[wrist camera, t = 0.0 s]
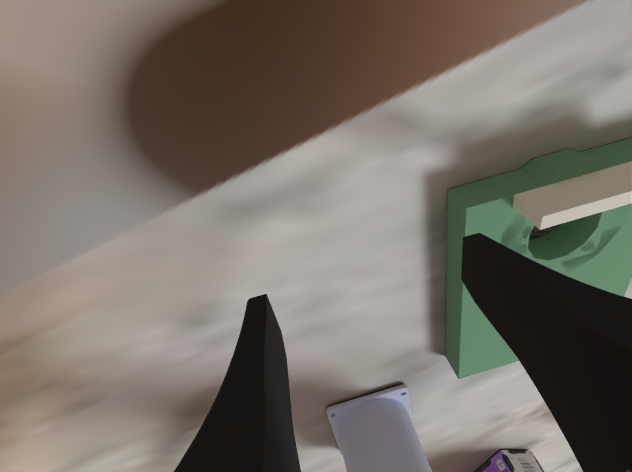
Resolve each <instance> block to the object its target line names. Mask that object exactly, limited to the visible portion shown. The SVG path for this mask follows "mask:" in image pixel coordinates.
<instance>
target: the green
mask: <svg viewBox="0 0 632 472" xmlns="http://www.w3.org/2000/svg"><path fill="white" fill-rule="evenodd" d="M559 224H560V225H559ZM555 225H559V226H557V227H556V228H554V229H553V230H552V231H550V232H549V233H547V234H546V235H544V236H542V237H539V238H535V239H532V240H529V237H530V232H531V230H532V229H533V228H534V226H536V227H537V228H538V229H539V230H542V229H545V228H548V227H552V226H555ZM476 233H481V234H483V235H485V236H487V237H489V238H491V239H493V240H495V241H496V242H498V243H500V244H502V245H504V246H506V247H508V248H510V249H512V250H514V251H515V252H517V253H519V254H521V255H523V256H525V257H527V258H529V259H531V260H533V261H535V262H537V263H539V264H541V265H544V266H546V267H548V268H550V269H552V270H554V271H557V272H559V273H561V274H564V275H566V276H568V277H570V278H573V279H575V280H578V281H580V282H583V283H586V284H588V285H591V286H594V287H597V288H599V289H602V290H605V291H608V292H611V293H614V294H617V295H620V296H623V297H624V294H625V292H626V290H627V287H628V285H629V282H630V280H631V277H632V137H631V138H628V139H624V140H621V141H617V142H614V143H610V144H607V145H603V146H599V147H596V148H592V149H589V150H585V151H582V152H578V151H574V150H571V149H565V150H562V151H558V152H555V153H551V154H548V155H544V156H541V157H537V158H533V159H532V160H531V161H529V162H528V163H527V164H526V165H524V166H523V167H522V168H520V169H518V170H515V171H511V172H507V173H504V174H500V175H497V176H493V177H490V178H486V179H483V180H479V181H476V182H472V183H469V184H465V185H461V186H458V187H454V188H451V189H447V271H446V358H447V360H448V361H449V363H450V365H451V367H452V368H453V370H454V372H455V374H456V375H457V377H458V379H461V378H464V377H467V376H470V375H474V374H477V373H480V372H484V371H487V370H490V369H493V368H497V367H500V366H503V365H507V364H510V363H513V362H516V361H519V359H518V358H517V357H516V355H515V354H514V352H513V351H512V350H511V349H510V347H509V346H508V345H507V343H506V342H505V341H504V340H503V338H502V337H501V336H500V334H499V333H498V332H497V331H496V329H495V328H494V327H493V325H492V324H491V323H490V322H489V320H488V319H487V318H486V316H485V315H484V314H483V313H482V311H481V310H480V309H479V307H478V306H477V305H476V303H475V302H474V300H473V299H472V297H471V295H470V294H469V292H468V290H467V288H466V287H465V285H464V283H463V281H462V279H461V270H462V246H463V237H466V236H469V235H473V234H476Z"/></svg>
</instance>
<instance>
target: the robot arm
mask: <svg viewBox="0 0 632 472" xmlns="http://www.w3.org/2000/svg"><path fill="white" fill-rule="evenodd" d="M461 279H462V281H463V283H464V285H465V287H466V288H467V290H468V292H469V294H470V295H471V297H472V299H473V300H474V302H475V303H476V305H477V306H478V307H479V309H480V310H481V311H482V313H483V314H484V315H485V316H486V318H487V319H488V320H489V322H490V323H491V324H492V325H493V327H494V328H495V329H496V331H497V332H498V333H499V334H500V336H501V337H502V338H503V340H504V341H505V342H506V343H507V345H508V346H509V347H510V349H511V350H512V351H513V352H514V354H515V355H516V357H517V358H518V359H519V361H520V362H521V364H522V365H523V367H524V368H525V370H526V372H527V373H528V375H529V376H530V378H531V380H532V381H533V383H534V384H535V386H536V388H537V389H538V391H539V393H540V394H541V396H542V398H543V399H544V401H545V403H546V404H547V406H548V408H549V409H550V411H551V413H552V414H553V416H554V418H555V420H556V422H557V423H558V425H559V427H560V429H561V431H562V432H563V434H564V436H565V438H566V439H567V441H568V443H569V445H570V447H571V449H572V451H573V453H574V455H575V456H576V458H577V460H578V462H579V464H580V466H581V468H582V470H583V472H632V299H630V298H626V297H623V296H620V295H617V294H614V293H611V292H608V291H605V290H602V289H599V288H597V287H594V286H591V285H588V284H586V283H583V282H580V281H578V280H575V279H573V278H570V277H568V276H566V275H564V274H561V273H559V272H557V271H554V270H552V269H550V268H548V267H546V266H544V265H541V264H539V263H537V262H535V261H533V260H531V259H529V258H527V257H525V256H523V255H521V254H519V253H517V252H515V251H514V250H512V249H510V248H508V247H506V246H504V245H502V244H500V243H498V242H496V241H495V240H493V239H491V238H489V237H487V236H485V235H483V234H481V233H476V234H473V235H469V236H466V237H463V246H462V270H461ZM326 413H327V416H328V419H329V422H330V425H331V428H332V430H333V433H334V436H335V439H336V442H337V444H338V447H339V450H340V453H341V455H343V458H344V462H345V466H346V470H347V472H432V470H431V467H430V465H429V463H428V460H427V458H426V455H425V453H424V451H423V448H422V446H421V443H420V441H419V438H418V436H417V434H416V431H415V429H414V426H413V424H412V422H411V413H410V403H409V393H408V388H407V386H406V385H399V386H396V387H393V388H389V389H386V390H383V391H379V392H376V393H373V394H369V395H366V396H363V397H360V398H356V399H353V400H350V401H346V402H343V403H340V404H336V405H333V406H330V407H328V408H327V409H326ZM174 472H301V470H300V464H299V459H298V454H297V448H296V443H295V437H294V431H293V423H292V414H291V402H290V391H289V379H288V368H287V358H286V353H285V348H284V343H283V338H282V333H281V330H280V327H279V325H278V322H277V320H276V317H275V314H274V312H273V309H272V307H271V304H270V302H269V299H268V297H267V294H264V295H261V296H257V297H254V298H250V299H249V300H248V302H247V306H246V311H245V316H244V320H243V324H242V328H241V332H240V335H239V338H238V342H237V345H236V348H235V351H234V354H233V357H232V360H231V363H230V365H229V368H228V371H227V373H226V376H225V378H224V381H223V383H222V386H221V388H220V390H219V392H218V395H217V397H216V399H215V401H214V403H213V405H212V407H211V409H210V411H209V413H208V415H207V417H206V419H205V421H204V423H203V425H202V426H201V428H200V430H199V432H198V434H197V435H196V437H195V439H194V440H193V442H192V444H191V445H190V447H189V448H188V450H187V452H186V453H185V455H184V457H183V458H182V460H181V461H180V463H179V465H178V466H177V468H176V469H175V471H174Z"/></svg>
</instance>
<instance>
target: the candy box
mask: <svg viewBox="0 0 632 472" xmlns="http://www.w3.org/2000/svg"><path fill="white" fill-rule="evenodd" d="M476 472H544V471H543V469H542V468H541V466H540V464H539V463H538V461H537V459H536V458H535V456H534V455H533V453H532V452H531V451H515V450H500V451H499V452H498V453H497V454H496V455H494V456H493V457H492V458H491V459H490V460H489V461H488V462H487V463H485V464H484V465H483V466H482V467H480V468H479V469H478V470H477V471H476Z"/></svg>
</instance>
